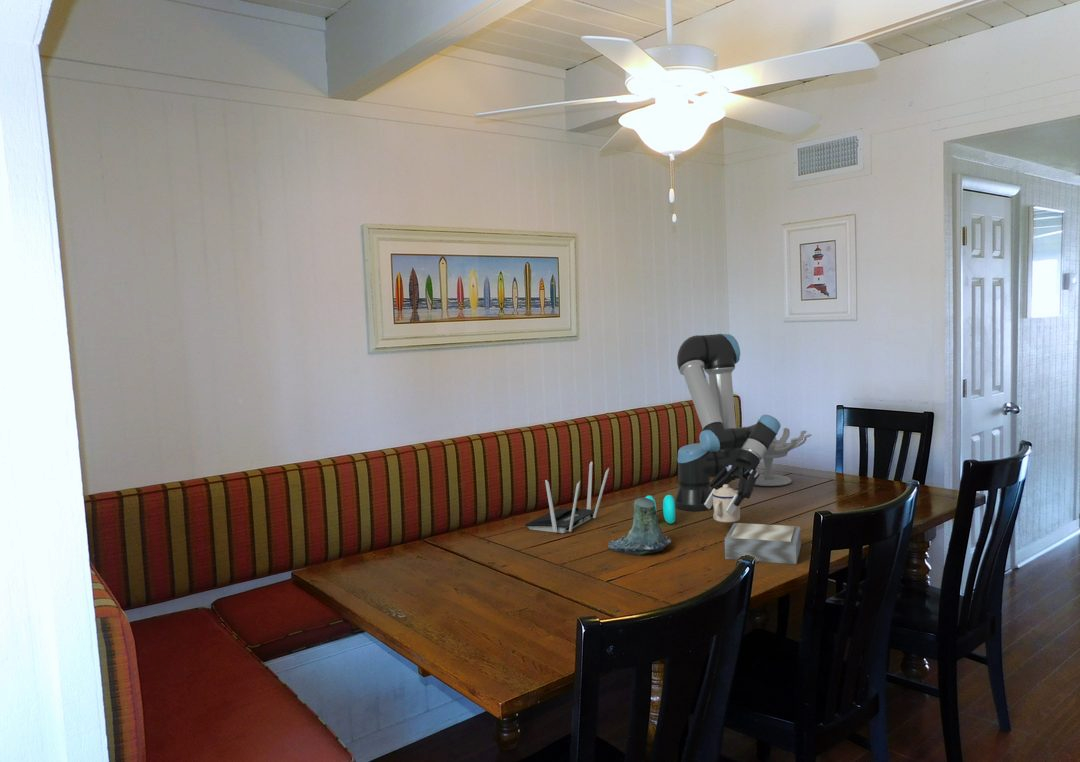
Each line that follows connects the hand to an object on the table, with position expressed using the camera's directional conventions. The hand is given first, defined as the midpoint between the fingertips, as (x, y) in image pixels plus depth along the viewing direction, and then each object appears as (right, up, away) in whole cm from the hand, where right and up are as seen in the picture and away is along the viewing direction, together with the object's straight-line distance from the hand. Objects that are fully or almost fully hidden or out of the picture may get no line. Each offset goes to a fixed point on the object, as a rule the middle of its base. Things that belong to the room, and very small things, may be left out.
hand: (717, 509), depth 250 cm
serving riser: (+9, -9, -21) cm, 25 cm away
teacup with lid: (+3, -4, +1) cm, 5 cm away
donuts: (-16, -8, +16) cm, 24 cm away
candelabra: (+38, -1, +71) cm, 81 cm away
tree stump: (-27, -10, -10) cm, 31 cm away
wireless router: (-48, -9, +20) cm, 53 cm away
